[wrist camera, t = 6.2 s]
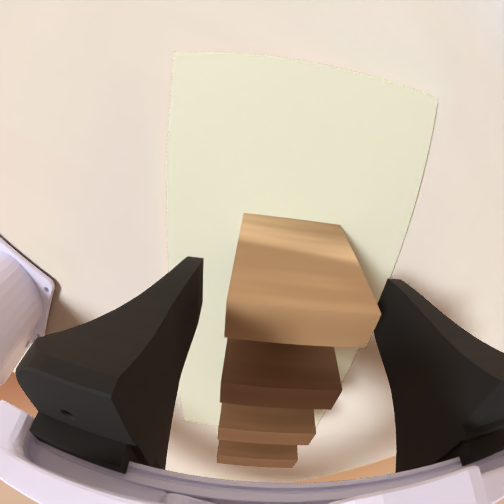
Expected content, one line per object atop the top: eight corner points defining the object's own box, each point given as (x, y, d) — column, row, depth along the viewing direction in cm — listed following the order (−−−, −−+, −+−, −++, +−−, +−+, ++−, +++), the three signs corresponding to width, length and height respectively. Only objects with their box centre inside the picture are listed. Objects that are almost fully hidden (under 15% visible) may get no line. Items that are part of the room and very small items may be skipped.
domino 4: (289, 389, 22) (292, 467, 16) (227, 383, 22) (217, 462, 16) (293, 377, 21) (297, 460, 15) (228, 372, 21) (217, 454, 15)
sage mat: (312, 428, 26) (312, 432, 26) (184, 417, 26) (183, 420, 26) (434, 97, 12) (438, 98, 11) (176, 52, 12) (173, 51, 11)
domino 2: (315, 312, 18) (330, 409, 12) (234, 303, 18) (219, 402, 12) (322, 291, 17) (342, 390, 11) (236, 282, 17) (220, 382, 11)
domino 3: (301, 356, 20) (308, 445, 14) (230, 349, 20) (218, 439, 14) (306, 341, 19) (315, 433, 13) (231, 333, 19) (218, 427, 13)
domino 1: (333, 251, 16) (365, 347, 10) (240, 240, 16) (224, 337, 10) (339, 224, 15) (381, 314, 9) (243, 212, 15) (226, 300, 9)
